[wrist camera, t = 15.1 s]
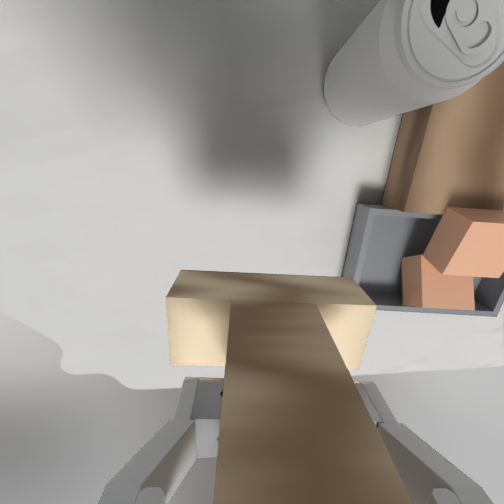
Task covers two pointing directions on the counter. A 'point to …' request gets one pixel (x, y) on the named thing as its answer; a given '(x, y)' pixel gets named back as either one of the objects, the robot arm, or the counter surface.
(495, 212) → the tile
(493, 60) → the beverage can
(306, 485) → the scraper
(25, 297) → the counter surface
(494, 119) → the board
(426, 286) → the peach square block
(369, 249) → the tray
